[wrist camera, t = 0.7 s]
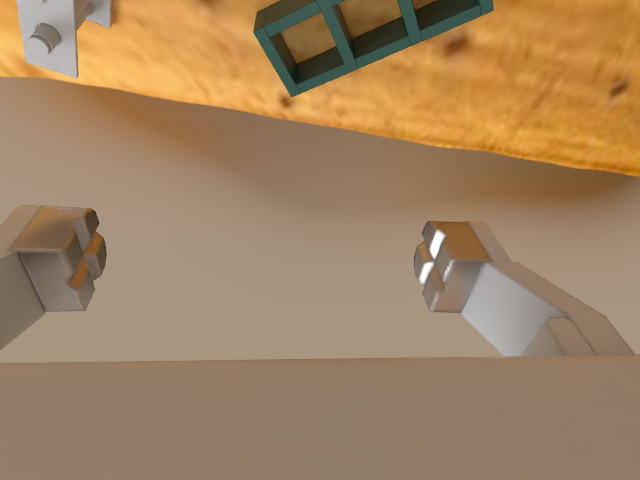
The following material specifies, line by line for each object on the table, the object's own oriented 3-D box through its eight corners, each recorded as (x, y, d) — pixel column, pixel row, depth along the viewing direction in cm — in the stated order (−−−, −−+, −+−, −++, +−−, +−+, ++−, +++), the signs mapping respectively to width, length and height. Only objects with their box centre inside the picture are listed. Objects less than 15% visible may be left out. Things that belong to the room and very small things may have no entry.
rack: (469, -99, 38) (482, -84, 35) (482, -9, 44) (493, 10, 41) (256, 12, 45) (253, 32, 42) (292, 76, 51) (291, 97, 48)
